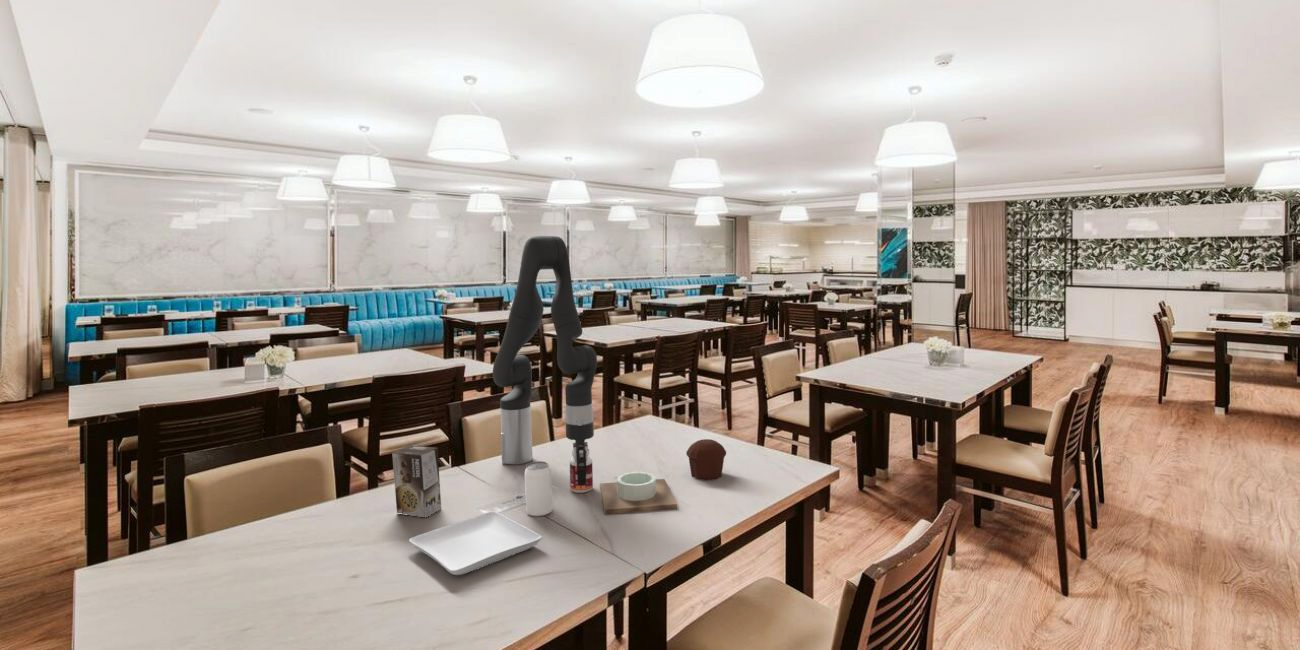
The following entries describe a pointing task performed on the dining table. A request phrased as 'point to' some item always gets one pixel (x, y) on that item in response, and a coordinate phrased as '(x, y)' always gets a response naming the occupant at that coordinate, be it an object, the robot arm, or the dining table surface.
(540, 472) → the can
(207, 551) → the dining table surface
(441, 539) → the salad plate
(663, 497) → the walnut board
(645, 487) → the pale green bowl
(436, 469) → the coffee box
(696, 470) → the muffin
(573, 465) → the pill bottle
